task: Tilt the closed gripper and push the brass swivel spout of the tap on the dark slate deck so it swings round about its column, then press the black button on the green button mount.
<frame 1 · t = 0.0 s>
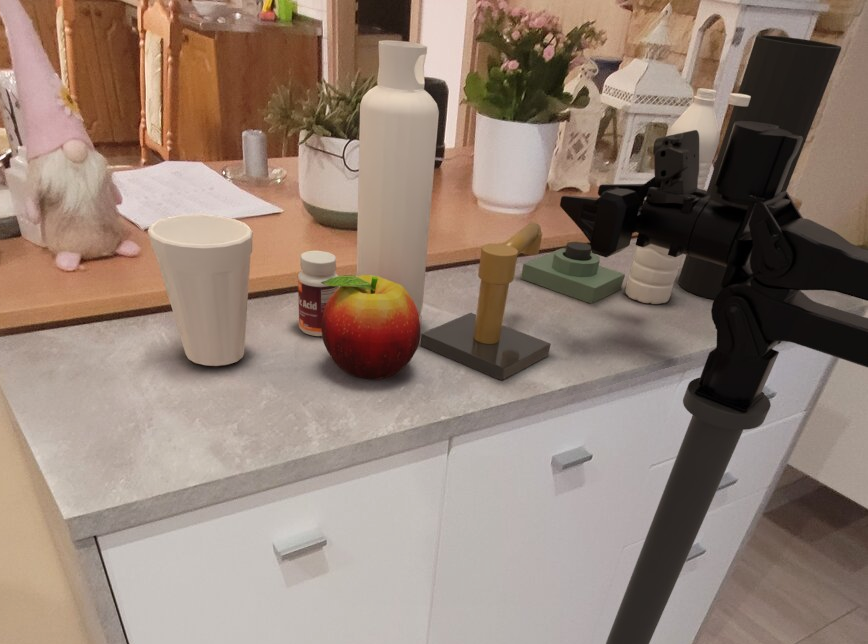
hand: (580, 194, 87), 14 cm above the countertop, tool horizontal, fingers open, 9 cm apart
spout: (514, 251, 84), point 10 cm above the countertop, hinge at 0.0°
bottle: (387, 328, 89), on the countertop
green button mount: (570, 284, 106), on the countertop
pill bottle: (319, 330, 87), on the countertop
water bottle: (652, 300, 104), on the countertop
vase: (710, 289, 110), on the countertop
dark round button: (578, 252, 103), point 4 cm above the countertop, slide at 0.1 cm
tap base: (484, 350, 86), on the countertop
cup: (215, 358, 79), on the countertop
fruit: (369, 369, 81), on the countertop
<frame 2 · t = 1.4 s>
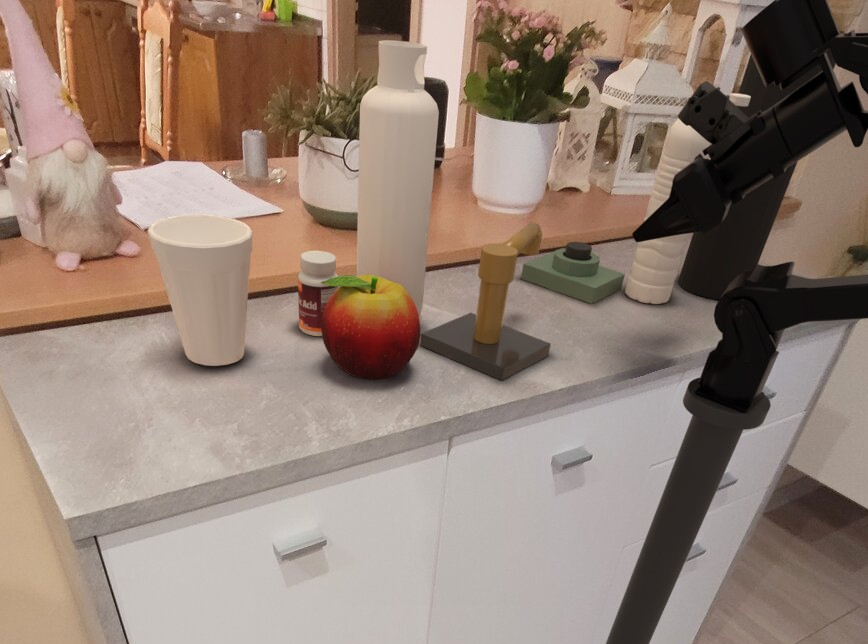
hand: (642, 229, 81), 14 cm above the countertop, tool tilted 45°, fingers open, 7 cm apart
nothing on the countertop moved.
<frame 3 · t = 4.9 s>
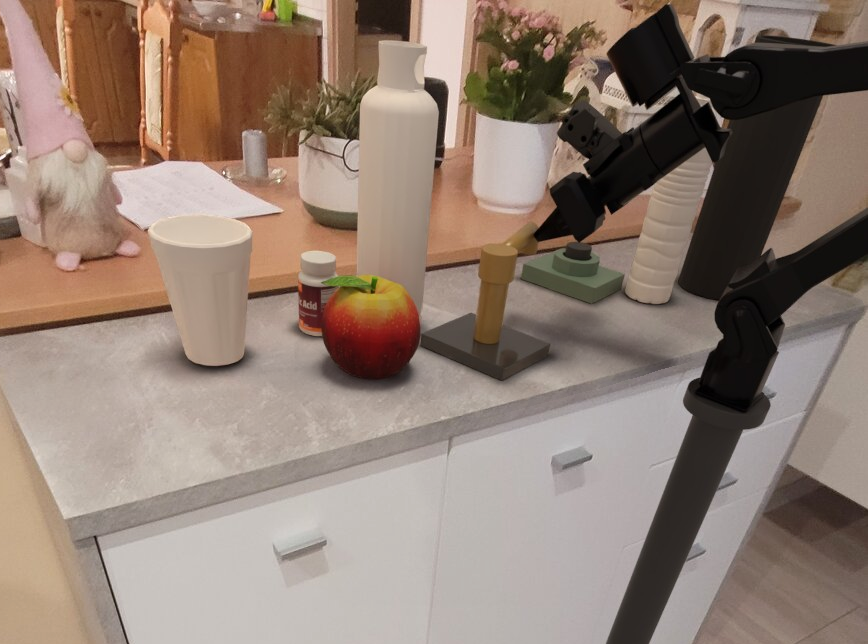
hand: (536, 237, 87), 10 cm above the countertop, tool tilted 45°, fingers closed, pressing on spout
spout: (513, 251, 84), point 10 cm above the countertop, hinge at 1.3°, touching gripper
everything else where it was.
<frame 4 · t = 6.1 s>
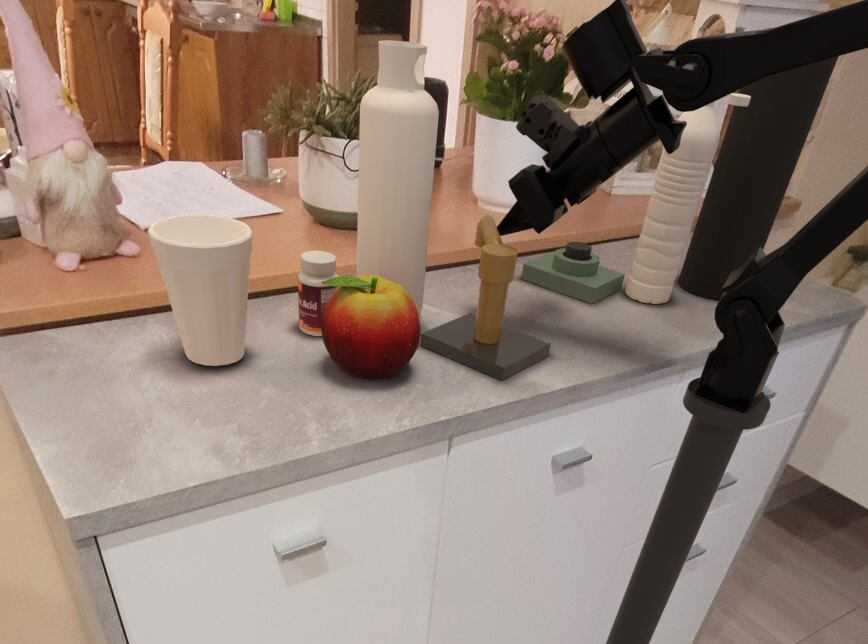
hand: (500, 231, 88), 10 cm above the countertop, tool tilted 45°, fingers closed
spout: (491, 248, 84), point 10 cm above the countertop, hinge at 26.3°, touching gripper
everything else where it was.
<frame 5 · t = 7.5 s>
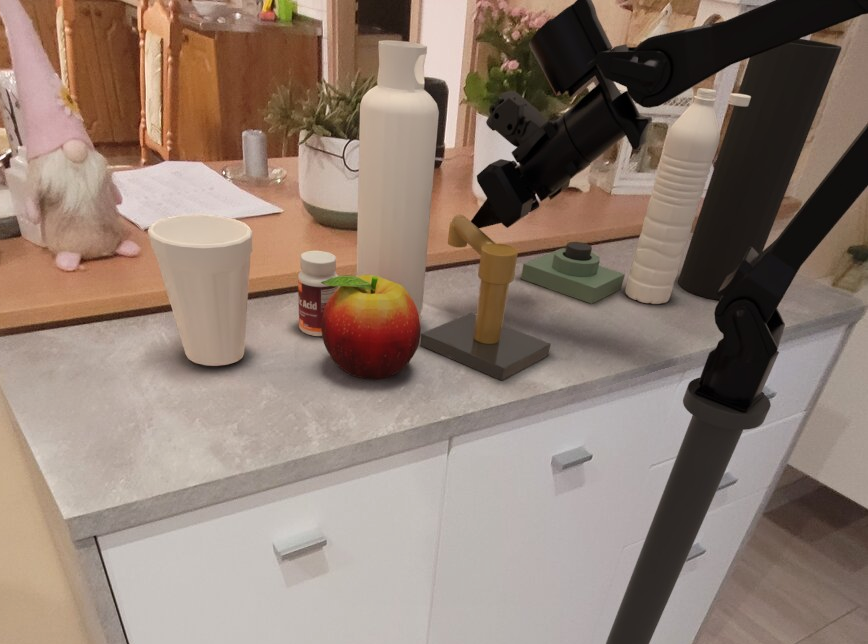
hand: (473, 225, 89), 10 cm above the countertop, tool tilted 45°, fingers closed
spout: (478, 247, 84), point 10 cm above the countertop, hinge at 42.3°
everything else where it was.
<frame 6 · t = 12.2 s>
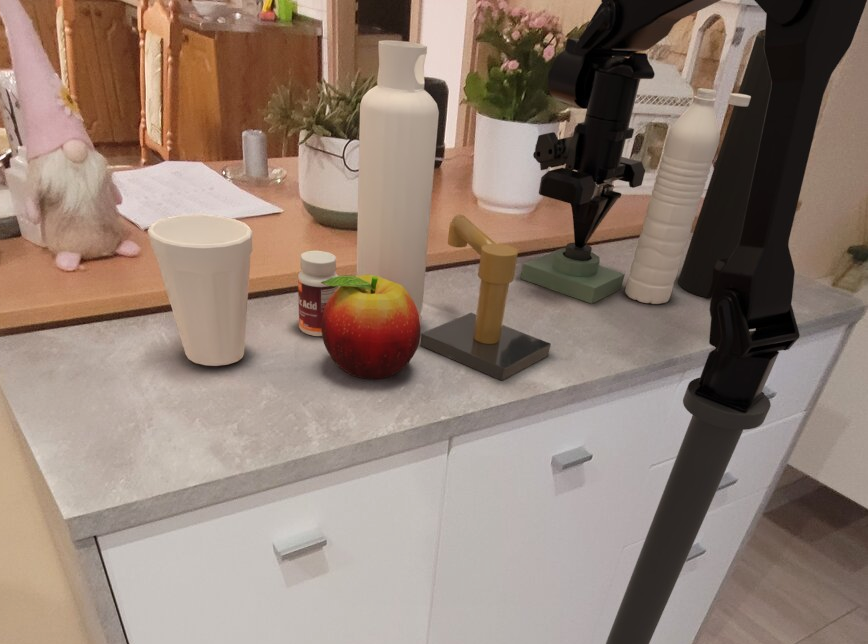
hand: (579, 246, 102), 5 cm above the countertop, tool pointing down, fingers closed, pressing on dark round button
dark round button: (577, 252, 103), point 4 cm above the countertop, slide at 0.0 cm, touching gripper
everything else where it was.
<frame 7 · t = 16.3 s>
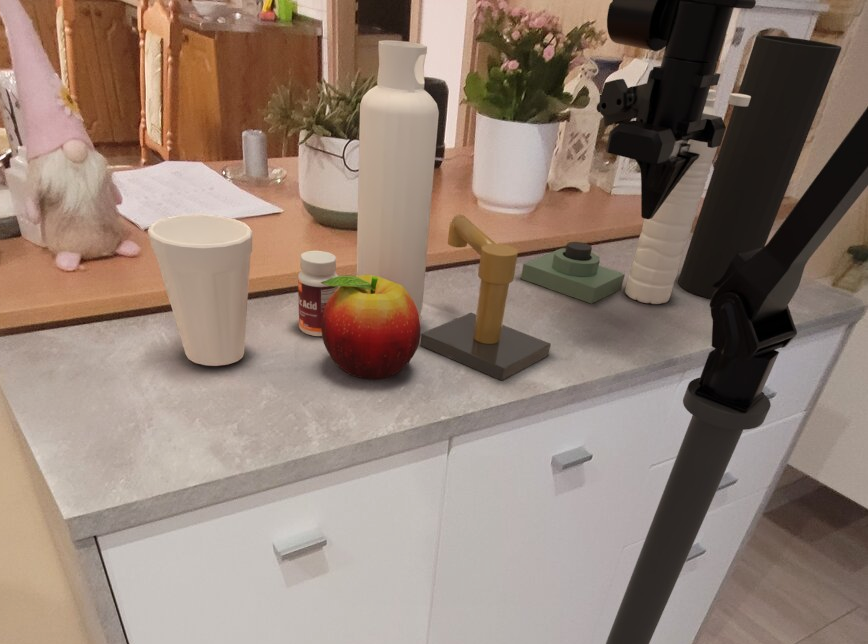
hand: (646, 218, 87), 13 cm above the countertop, tool pointing down, fingers closed
dark round button: (578, 252, 103), point 4 cm above the countertop, slide at 0.1 cm
everything else where it was.
at the end: spout at +42° (first picture: +0°); dark round button pushed in 1.1 cm at the most during the clip, back to where it started at the end; dark round button slide at 0.1 cm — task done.
